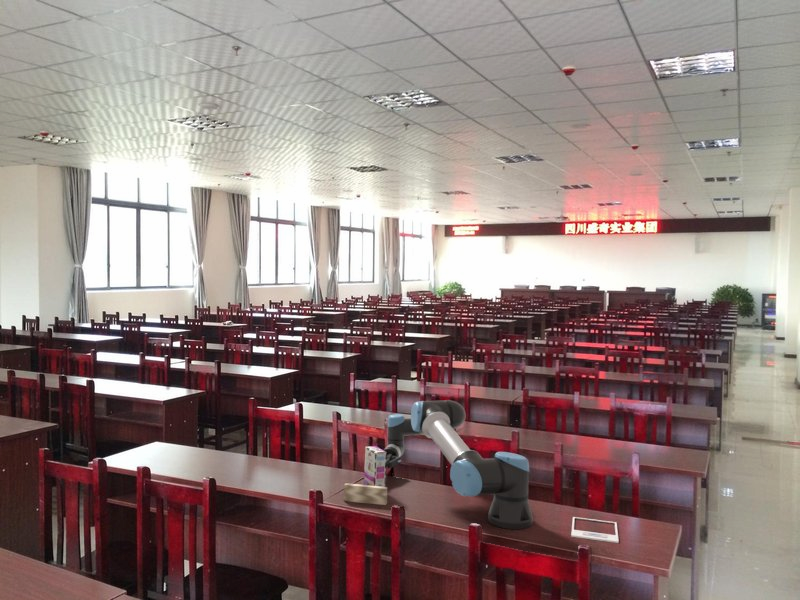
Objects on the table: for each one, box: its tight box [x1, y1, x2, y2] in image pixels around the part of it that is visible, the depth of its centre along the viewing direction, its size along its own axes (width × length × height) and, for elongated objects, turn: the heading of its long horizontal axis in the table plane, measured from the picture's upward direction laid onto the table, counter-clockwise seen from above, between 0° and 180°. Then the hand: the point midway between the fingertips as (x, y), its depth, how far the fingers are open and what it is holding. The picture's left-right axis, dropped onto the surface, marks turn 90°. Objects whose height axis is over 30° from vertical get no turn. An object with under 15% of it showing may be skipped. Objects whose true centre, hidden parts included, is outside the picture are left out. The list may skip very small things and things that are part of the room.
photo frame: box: [570, 516, 619, 544], centre depth 213 cm, size 15×1×18 cm
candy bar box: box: [363, 445, 387, 487], centre depth 247 cm, size 11×5×16 cm, turn 25°
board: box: [343, 482, 388, 506], centre depth 234 cm, size 16×2×6 cm, turn 78°
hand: (377, 469), depth 253 cm, fingers closed
